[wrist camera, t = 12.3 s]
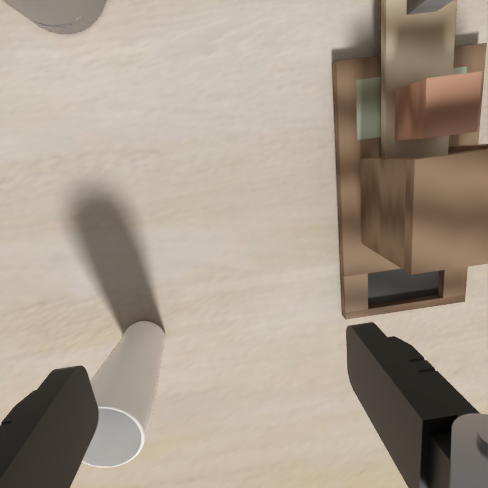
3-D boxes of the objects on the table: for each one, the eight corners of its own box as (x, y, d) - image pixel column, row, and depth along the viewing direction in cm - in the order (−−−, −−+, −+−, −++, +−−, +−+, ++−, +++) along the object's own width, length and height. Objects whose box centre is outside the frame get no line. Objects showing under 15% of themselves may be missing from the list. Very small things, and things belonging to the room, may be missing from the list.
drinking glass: (110, 346, 40) (48, 453, 26) (132, 305, 39) (80, 393, 25) (157, 367, 42) (124, 479, 27) (181, 327, 40) (159, 423, 26)
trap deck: (332, 64, 33) (387, 19, 22) (477, 46, 34) (601, -6, 23) (342, 314, 41) (385, 371, 30) (458, 297, 42) (541, 347, 31)
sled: (381, -21, 30) (436, -82, 22) (451, -29, 30) (530, -92, 22) (381, 196, 36) (424, 208, 28) (440, 188, 36) (499, 198, 28)
